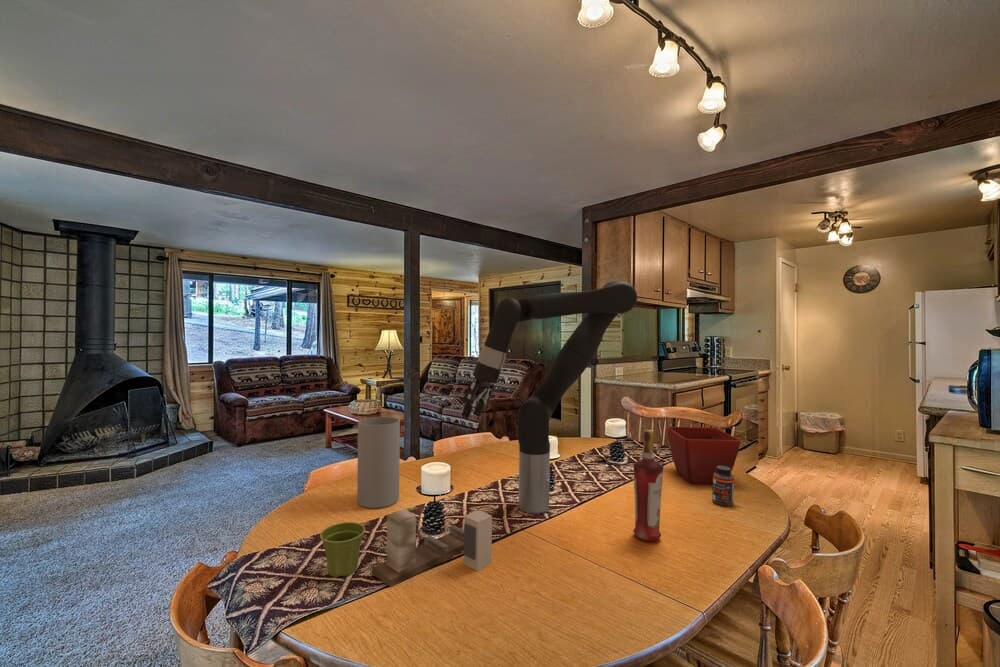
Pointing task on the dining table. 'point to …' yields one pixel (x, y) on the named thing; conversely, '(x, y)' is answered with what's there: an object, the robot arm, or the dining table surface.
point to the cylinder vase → (378, 462)
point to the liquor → (648, 492)
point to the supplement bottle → (723, 486)
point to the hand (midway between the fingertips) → (470, 416)
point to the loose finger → (477, 540)
